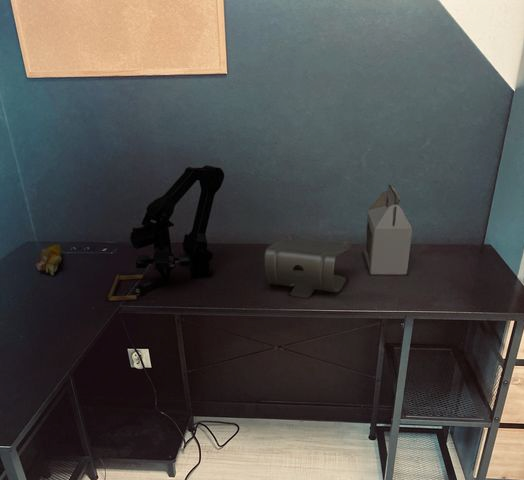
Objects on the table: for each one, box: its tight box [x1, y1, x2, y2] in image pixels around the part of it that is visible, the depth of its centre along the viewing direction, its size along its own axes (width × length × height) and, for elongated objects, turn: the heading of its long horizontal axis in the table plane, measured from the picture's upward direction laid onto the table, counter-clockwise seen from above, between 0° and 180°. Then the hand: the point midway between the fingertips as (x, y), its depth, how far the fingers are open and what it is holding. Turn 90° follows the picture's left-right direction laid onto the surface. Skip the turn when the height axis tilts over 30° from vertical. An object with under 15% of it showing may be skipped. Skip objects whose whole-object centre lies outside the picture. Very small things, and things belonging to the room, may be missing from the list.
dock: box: [107, 274, 144, 301], centre depth 188 cm, size 10×19×2 cm, turn 4°
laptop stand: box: [264, 234, 352, 299], centre depth 184 cm, size 26×24×16 cm
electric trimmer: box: [133, 274, 171, 296], centre depth 189 cm, size 4×16×3 cm, turn 142°
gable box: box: [363, 184, 413, 276], centre depth 196 cm, size 22×13×28 cm, turn 176°
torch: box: [35, 243, 62, 276], centre depth 208 cm, size 8×8×25 cm
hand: (166, 283), depth 189 cm, fingers closed
